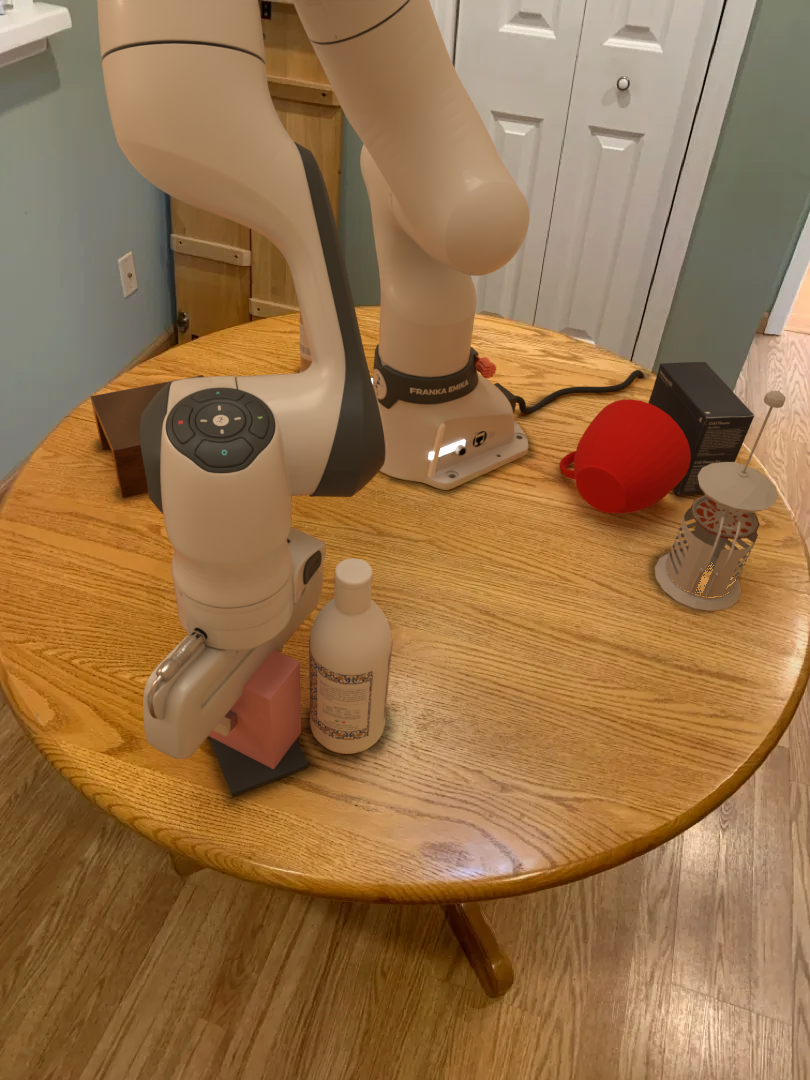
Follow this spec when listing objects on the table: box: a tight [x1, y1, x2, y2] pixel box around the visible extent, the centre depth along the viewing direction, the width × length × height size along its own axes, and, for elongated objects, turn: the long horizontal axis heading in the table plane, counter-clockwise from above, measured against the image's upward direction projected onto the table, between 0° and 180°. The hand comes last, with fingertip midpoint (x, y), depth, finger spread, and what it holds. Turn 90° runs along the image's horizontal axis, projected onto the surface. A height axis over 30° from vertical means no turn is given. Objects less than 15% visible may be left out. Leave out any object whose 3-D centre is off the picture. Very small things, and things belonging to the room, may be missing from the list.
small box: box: [648, 361, 755, 496], centre depth 109 cm, size 13×7×12 cm, turn 12°
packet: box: [209, 650, 302, 769], centre depth 73 cm, size 4×9×10 cm, turn 63°
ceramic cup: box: [559, 398, 691, 515], centre depth 103 cm, size 13×17×10 cm
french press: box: [654, 390, 786, 612], centre depth 88 cm, size 10×12×25 cm
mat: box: [207, 736, 309, 798], centre depth 77 cm, size 7×11×1 cm, turn 27°
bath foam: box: [308, 557, 393, 755], centre depth 72 cm, size 7×7×20 cm
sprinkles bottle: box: [298, 311, 312, 373], centre depth 119 cm, size 5×5×13 cm
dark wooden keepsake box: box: [90, 374, 204, 499], centre depth 104 cm, size 14×12×7 cm
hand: (244, 703), depth 74 cm, fingers closed on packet, 4 cm apart
